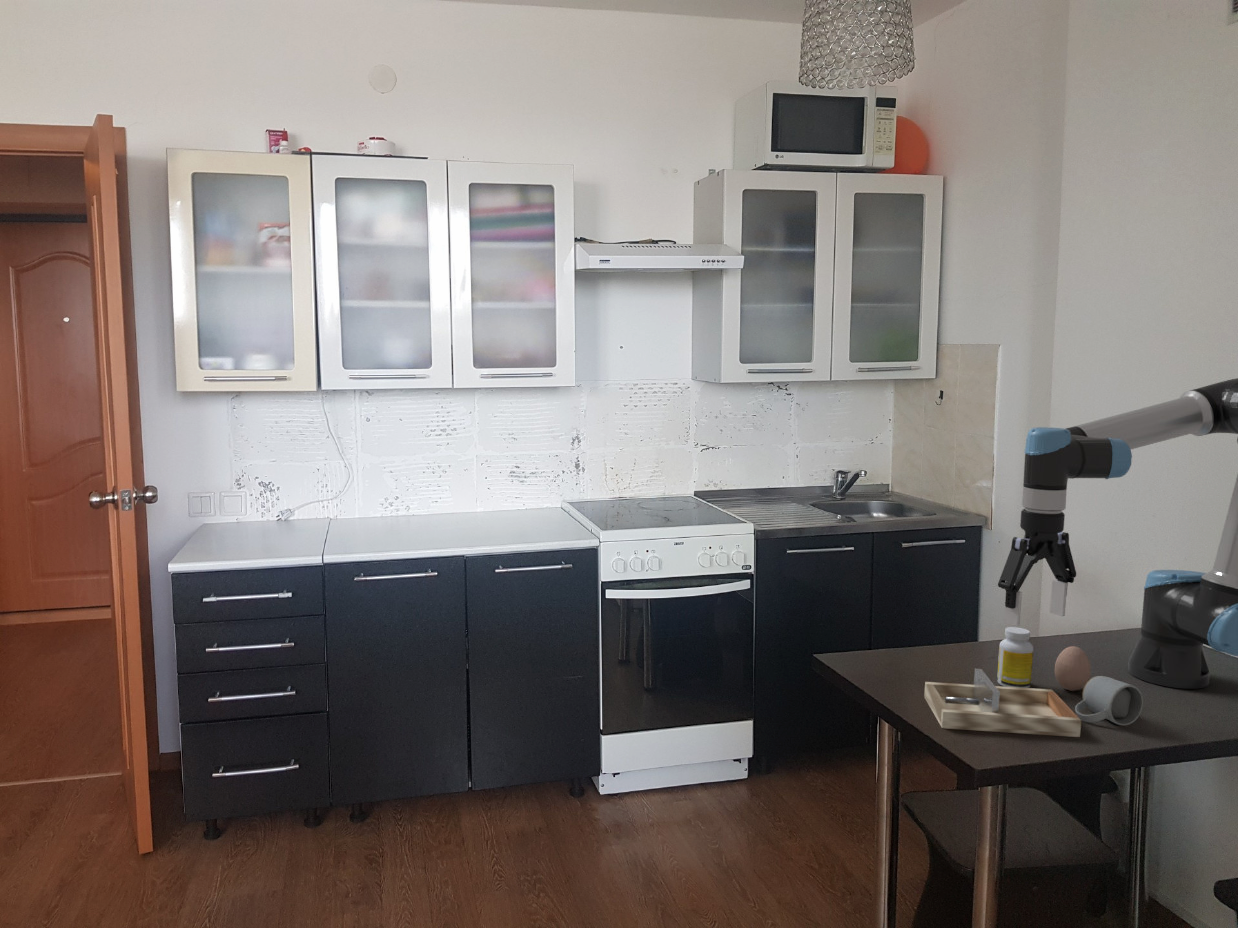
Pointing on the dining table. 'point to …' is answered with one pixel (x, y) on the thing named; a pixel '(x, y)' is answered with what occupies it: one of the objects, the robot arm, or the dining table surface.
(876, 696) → the dining table surface
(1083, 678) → the egg
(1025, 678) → the pill bottle
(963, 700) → the pusher
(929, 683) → the wooden tray
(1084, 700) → the ceramic mug
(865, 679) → the dining table surface
